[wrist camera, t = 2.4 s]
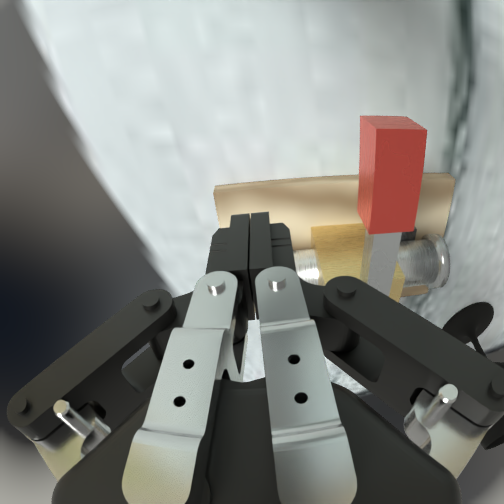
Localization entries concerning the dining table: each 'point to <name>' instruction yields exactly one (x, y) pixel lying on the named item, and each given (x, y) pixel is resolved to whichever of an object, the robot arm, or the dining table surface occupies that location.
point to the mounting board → (328, 205)
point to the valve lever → (388, 191)
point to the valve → (351, 252)
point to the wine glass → (468, 329)
